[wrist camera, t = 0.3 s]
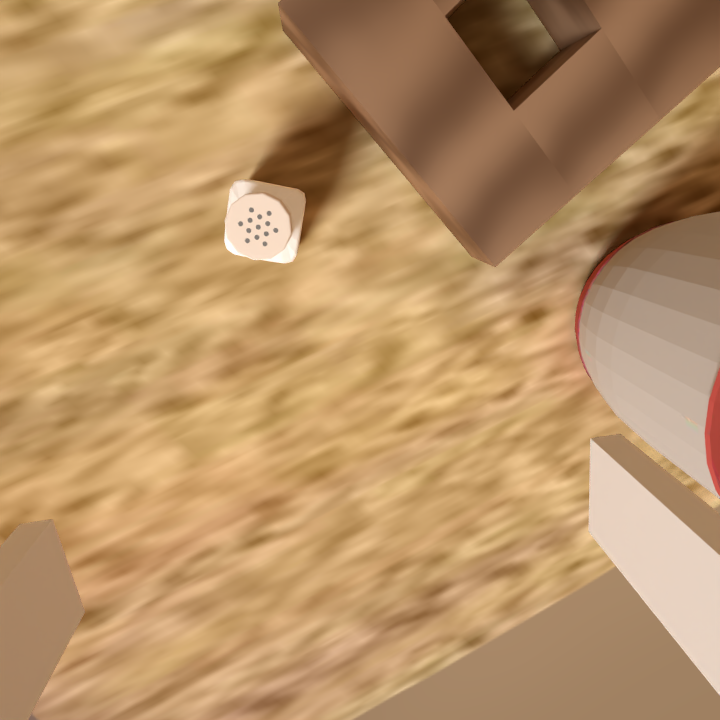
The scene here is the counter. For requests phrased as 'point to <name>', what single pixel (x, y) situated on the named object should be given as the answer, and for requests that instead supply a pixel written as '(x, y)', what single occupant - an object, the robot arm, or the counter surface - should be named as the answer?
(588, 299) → the citrus juicer
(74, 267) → the counter surface
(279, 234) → the pepper shaker
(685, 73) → the socket block
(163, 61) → the counter surface
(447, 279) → the counter surface
